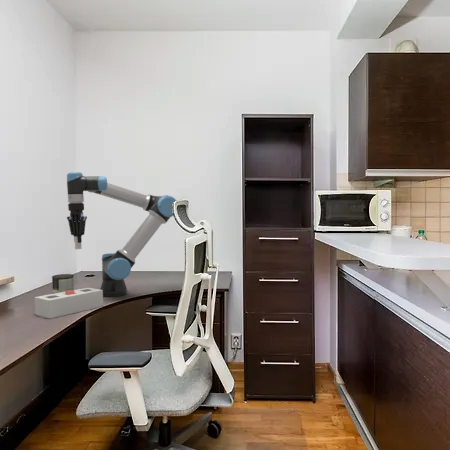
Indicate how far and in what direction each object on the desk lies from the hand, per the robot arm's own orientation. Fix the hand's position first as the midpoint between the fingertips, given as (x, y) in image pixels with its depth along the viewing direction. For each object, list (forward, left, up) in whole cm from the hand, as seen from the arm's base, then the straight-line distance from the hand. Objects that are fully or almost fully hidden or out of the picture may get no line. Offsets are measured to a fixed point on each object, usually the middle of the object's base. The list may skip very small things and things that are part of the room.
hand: (78, 249), depth 211 cm
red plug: (+13, +11, -25) cm, 30 cm away
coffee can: (+6, -6, -28) cm, 29 cm away
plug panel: (+13, +11, -28) cm, 32 cm away
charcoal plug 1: (+22, +11, -26) cm, 36 cm away
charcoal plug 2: (+4, +11, -26) cm, 29 cm away
